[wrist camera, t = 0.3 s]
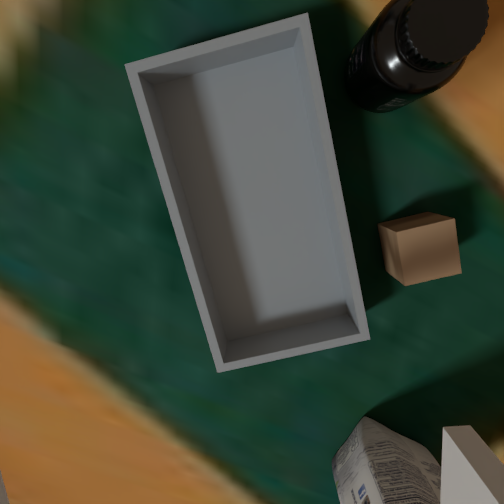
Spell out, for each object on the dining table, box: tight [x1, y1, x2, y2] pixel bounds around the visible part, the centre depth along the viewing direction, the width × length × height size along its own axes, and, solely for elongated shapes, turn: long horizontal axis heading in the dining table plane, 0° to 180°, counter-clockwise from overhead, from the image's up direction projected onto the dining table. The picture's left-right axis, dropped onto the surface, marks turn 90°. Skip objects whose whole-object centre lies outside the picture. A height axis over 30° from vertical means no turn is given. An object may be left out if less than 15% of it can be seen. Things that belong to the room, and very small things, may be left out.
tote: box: [124, 13, 370, 373], centre depth 33 cm, size 28×15×5 cm, turn 14°
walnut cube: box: [378, 212, 461, 286], centre depth 34 cm, size 5×5×5 cm
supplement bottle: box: [345, 0, 489, 113], centre depth 27 cm, size 7×7×12 cm
